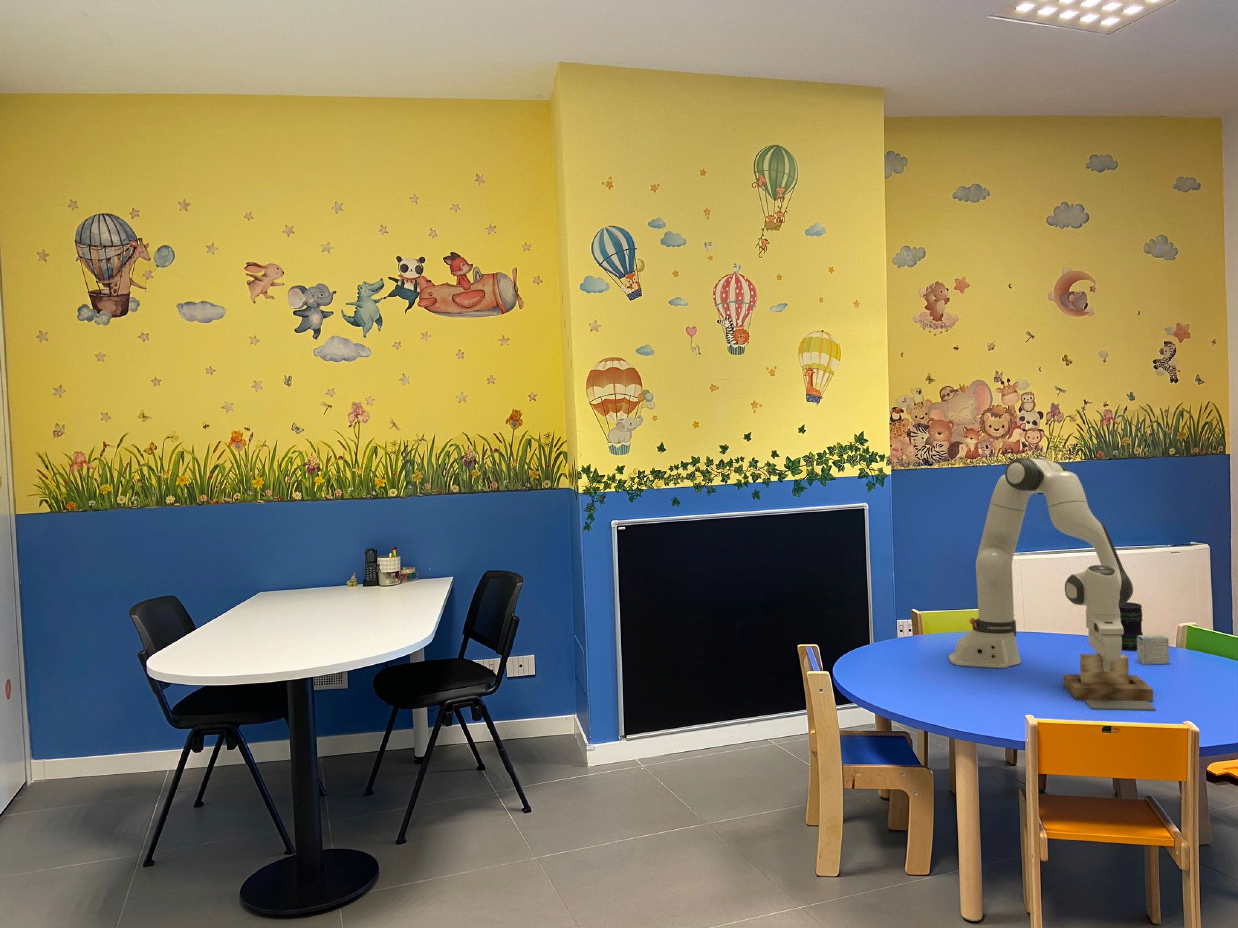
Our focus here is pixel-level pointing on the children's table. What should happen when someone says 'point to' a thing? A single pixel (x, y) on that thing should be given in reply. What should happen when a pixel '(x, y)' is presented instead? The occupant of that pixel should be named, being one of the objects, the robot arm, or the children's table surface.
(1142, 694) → the walnut case
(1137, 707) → the grey flat slab
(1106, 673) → the oak cover plate
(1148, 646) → the medicine box
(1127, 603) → the black cylinder
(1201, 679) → the children's table surface
